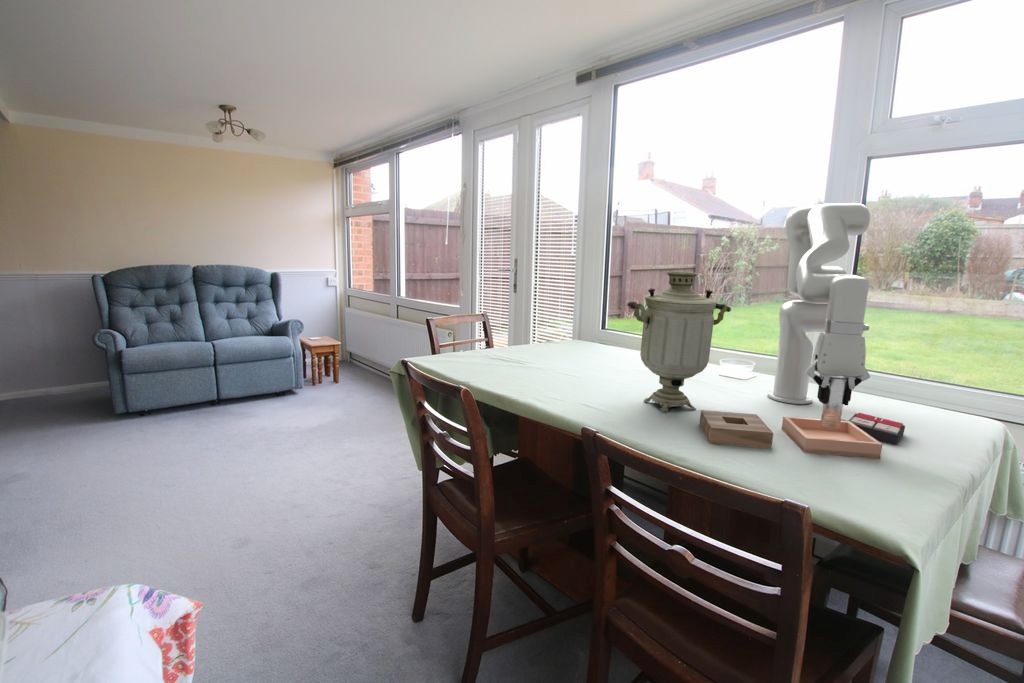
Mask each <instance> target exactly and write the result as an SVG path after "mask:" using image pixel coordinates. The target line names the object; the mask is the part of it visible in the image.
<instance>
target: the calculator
mask: <svg viewBox="0 0 1024 683" xmlns="http://www.w3.org/2000/svg"><path fill="white" fill-rule="evenodd" d="M841 421H850V422H851V423H853V424H854V425H856V426H857V427H859V428H860V429H861V430H863V431H864V432H866V433H867V434H869V435H870V436H871V437H873V438H874V439H876V440H877V441H878V442H880V443H882V444H888V445H893V446H898V444H899V443H900V442H901V439H902V438H903V436H904V433H905V429H906V425H904V423H903V422H899V421H894V420H890V419H886V418H882V417H878V416H874V415H870V414H866V413H861V412H855V411H851V410H847V409H844V408H842V415H841Z"/></svg>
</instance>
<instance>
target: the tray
mask: <svg viewBox="0 0 1024 683" xmlns="http://www.w3.org/2000/svg"><path fill="white" fill-rule="evenodd" d="M781 422H782V424H781V430H782V431H783V432H784V433H785V434H786V435H787V437H789V438H790V440H791V441H793V442H794V444H796V445H797V447H798V448H799V449H801V451H802V452H803V453H811V454H822V455H831V454H832V455H831V456H842V457H844V456H845V457H854V456H855V457H854V458H857V457H858V458H867V459H878V460H880V459H881V456H882V449H883V443H882V442H879V441H877V440H876V439H874V438H873V437H871V436H870V435H869V434H867V433H866V432H864V431H863V430H861V429H860V428H859V427H857V426H856V425H854V424H853V423H851V422H850V421H841V422H840V427H839V428H830V427H826V426H823V425H821V418H810V417H808V418H807V417H798V416H797V417H796V416H795V417H794V416H784V415H783V416H782V421H781Z"/></svg>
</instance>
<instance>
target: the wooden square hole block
mask: <svg viewBox="0 0 1024 683" xmlns="http://www.w3.org/2000/svg"><path fill="white" fill-rule="evenodd" d="M699 425H700V427H701V429H702V432H703V433H704V436H705V437H706V439H707V441H708V443H709V444H713V445H714V444H715V445H727V446H736V447H738V446H739V447H750V448H760V449H770V450H771V449H772V448H773V438H774V432H773V430H772V429H770V427H769V426H768V425H767V424H766V423H765V422H764V421H763V420H762V418H761V417H760V416H759V415H758V414H756V413H748V412H747V413H746V412H745V413H744V412H731V411H717V410H706V409H705V410H704V409H701V410H700V417H699Z"/></svg>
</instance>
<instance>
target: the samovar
mask: <svg viewBox="0 0 1024 683" xmlns="http://www.w3.org/2000/svg"><path fill="white" fill-rule="evenodd" d="M665 274H666V275H667V276H668V277H669V279H668V284H669V285H670V288H666V289H664V290H663V291H662V292H657V293H655V291H656V288H649V289H648V290H647V291H648V293H649V294H646V295H644V299H645V300H644V302H645V305H646V306H644V305H643V304H642V303H637V302H635V301H628V303H627V307H629V308H631V309H632V310H633V316H634V317H635V318H636V320H637V321H638V322H641V323H643V326H642V336H641V346H640V354H639V355H640V359H641V361H642V363H643V366H645V367H646V368H647V369H648V370H649V371H650V372H652V374H655V375H656V376H658V377H659V380H658V382H659V384H660V385H662V387H661V388H659V389H657V390H655V391H654V392H652V394H650V396H649V397H645V398H644V400H643V403H647V402H651V400H652V402H654V403H657V404H659V405H660V406H661V408H660V412H661V413H663V414H664V413H669V409H670V408H672V407H673V408H674V407H683V406H687V407H688V408H690V409H691V410H692V411H697V408H696V407H695V406H694V405H692V404H691V402H690V399H689V398H688V396H687V395H685V392H683V391H681V390H680V388H681V387H683V386H684V385H685V380H686V379H690V378H693V377H695V376H697V374H699V373H702V372H703V371H704V370H705V369H706V368H707V367H708V364H709V362H710V355H711V346H712V338H713V329H714V326H717V325H718V324H719V323H720V322H722V321H723V320H724V315H725V313H726V312H727V313H729V312H731V311H732V308H731V307H730V306H727V304H724V303H723V304H722V303H718V302H717V300H715V299H714V298H712V297H711V295H712V294H713V293H714V291H712V290H711V289H705V292H706V296H703V295H700V294H699V292H697V291H695V290H693V289H692V287H693V285H694V283H695V278H696V276H698V275H699V273H698V272H689V271H666V272H665ZM710 297H711V298H710ZM645 307H646V308H645ZM715 310H720V311H719V312H718V313H717V318H716V319H715V316H714V312H715Z"/></svg>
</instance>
